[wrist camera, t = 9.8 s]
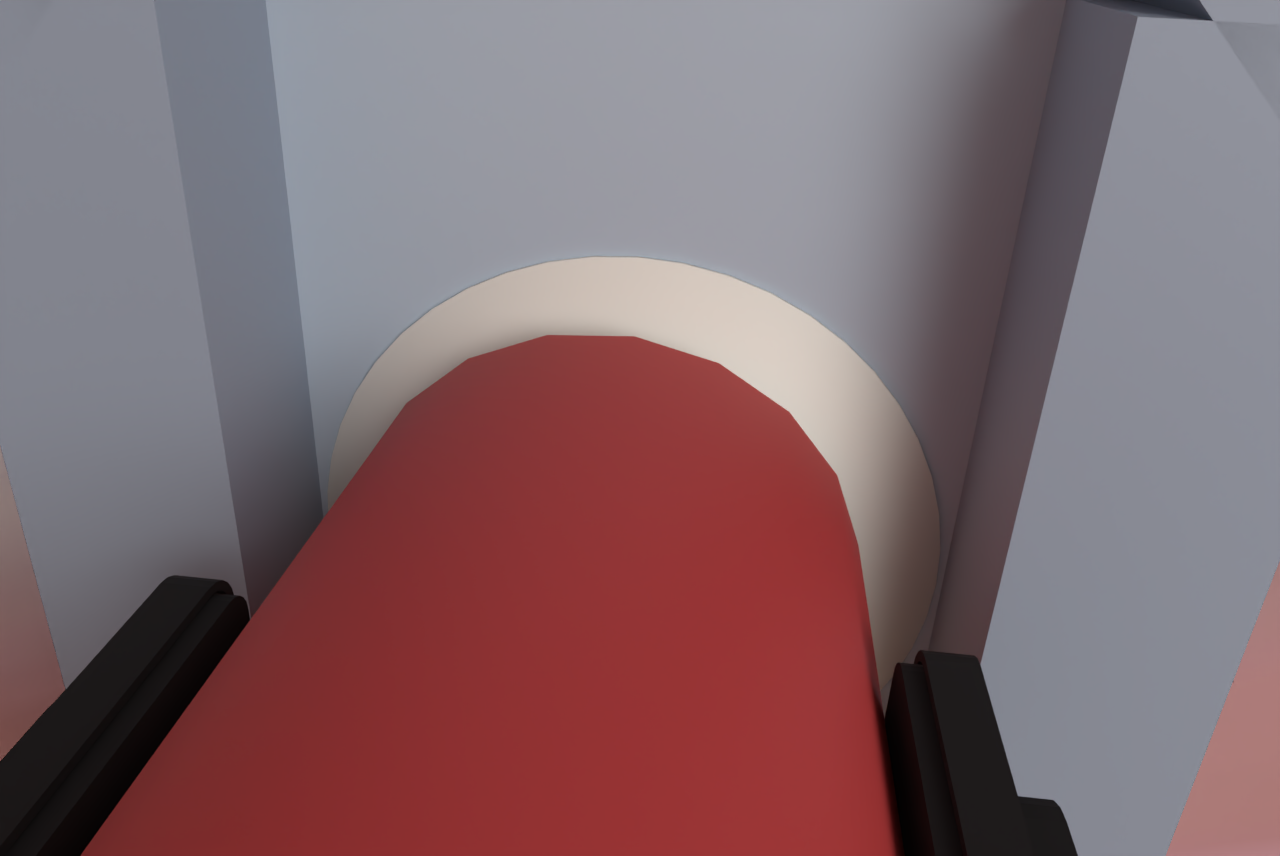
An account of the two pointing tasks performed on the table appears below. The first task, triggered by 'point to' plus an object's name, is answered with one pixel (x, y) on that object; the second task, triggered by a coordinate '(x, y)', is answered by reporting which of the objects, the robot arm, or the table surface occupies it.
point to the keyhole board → (686, 302)
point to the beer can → (550, 639)
